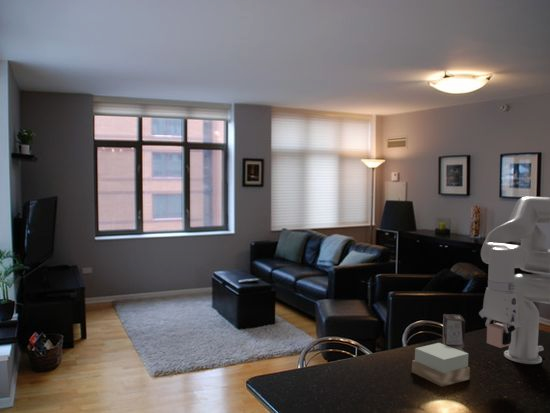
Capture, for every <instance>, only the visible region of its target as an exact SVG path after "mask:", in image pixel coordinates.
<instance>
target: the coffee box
mask: <svg viewBox="0 0 550 413" xmlns="http://www.w3.org/2000/svg"><path fill="white" fill-rule="evenodd" d="M442 317H443V318H442V343H441V344H444V345H446V346H449V347H452V348H455V349H457V350H460V351H463V352H465V338H466V337H465V336H466V335H465V333H466V320H465V319H464V317H463V316H462V315H461V314H454V313H452V314H451V313H450V314H447V313H443V316H442Z"/></svg>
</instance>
